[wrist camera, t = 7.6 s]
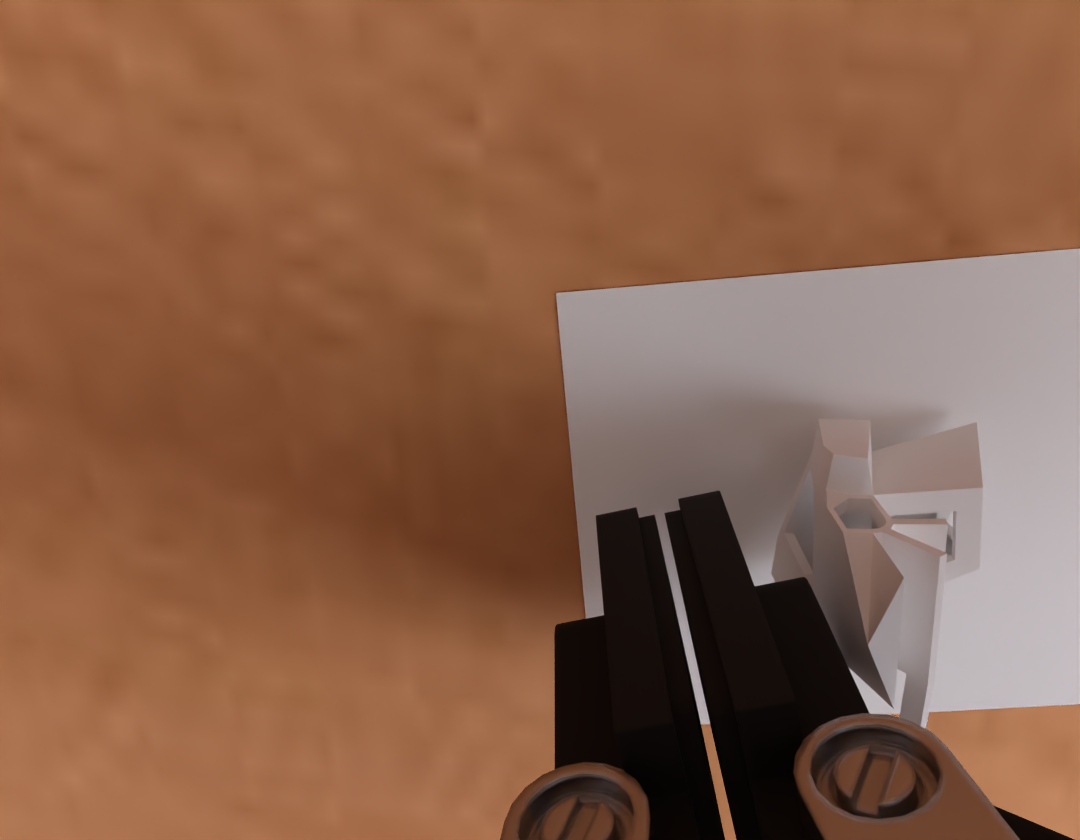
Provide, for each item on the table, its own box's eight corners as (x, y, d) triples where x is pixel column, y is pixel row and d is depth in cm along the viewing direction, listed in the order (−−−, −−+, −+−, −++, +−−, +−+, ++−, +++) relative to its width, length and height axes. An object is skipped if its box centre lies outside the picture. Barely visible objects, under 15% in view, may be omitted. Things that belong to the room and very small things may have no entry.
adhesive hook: (766, 412, 12) (828, 540, 9) (969, 396, 12) (1098, 521, 9) (765, 604, 13) (821, 769, 10) (950, 592, 13) (1057, 756, 10)
